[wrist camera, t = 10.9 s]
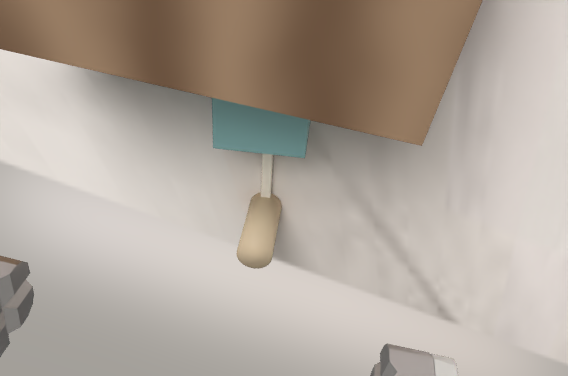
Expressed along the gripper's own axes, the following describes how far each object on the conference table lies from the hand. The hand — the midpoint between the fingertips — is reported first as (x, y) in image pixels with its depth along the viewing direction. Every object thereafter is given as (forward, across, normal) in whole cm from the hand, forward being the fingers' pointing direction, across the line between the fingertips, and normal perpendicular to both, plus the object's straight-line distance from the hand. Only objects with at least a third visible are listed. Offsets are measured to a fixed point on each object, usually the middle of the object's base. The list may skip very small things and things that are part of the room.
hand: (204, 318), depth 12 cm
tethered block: (+23, +1, +9) cm, 25 cm away
